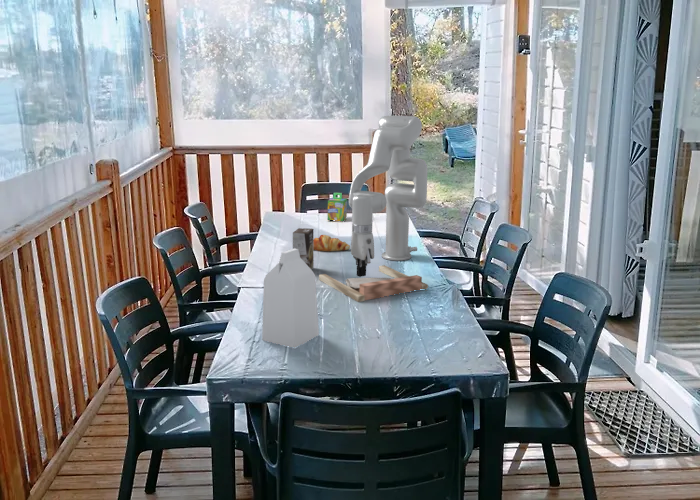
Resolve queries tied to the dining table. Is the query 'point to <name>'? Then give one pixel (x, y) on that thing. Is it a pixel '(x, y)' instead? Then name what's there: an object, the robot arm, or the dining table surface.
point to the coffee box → (304, 245)
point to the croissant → (329, 244)
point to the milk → (290, 302)
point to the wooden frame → (378, 285)
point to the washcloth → (361, 282)
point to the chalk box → (337, 208)
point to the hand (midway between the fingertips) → (361, 275)
